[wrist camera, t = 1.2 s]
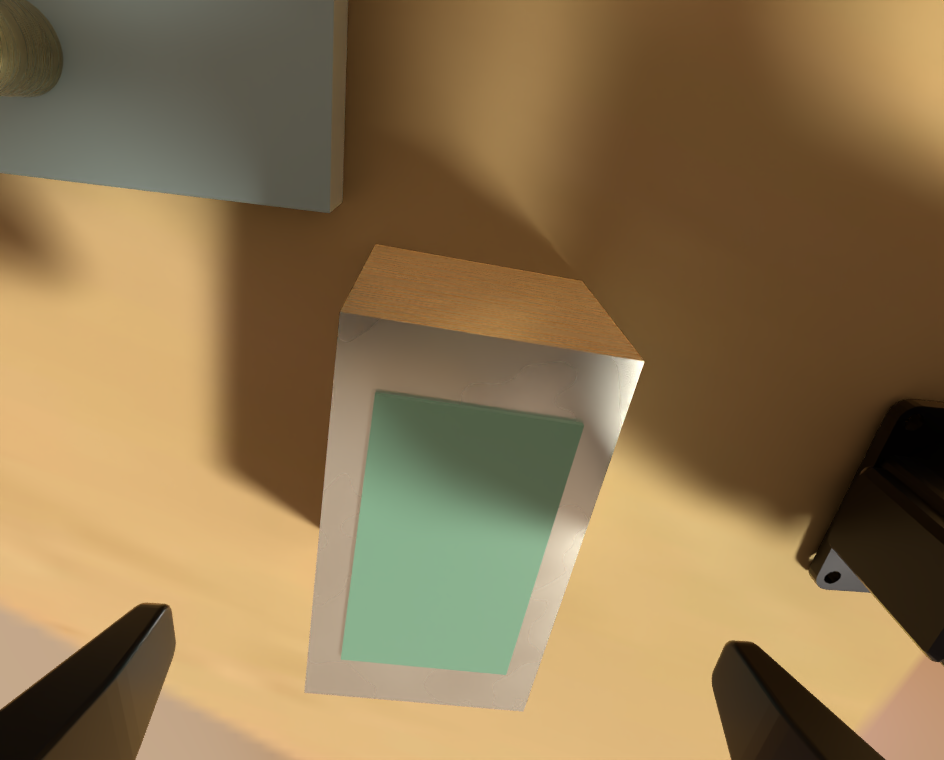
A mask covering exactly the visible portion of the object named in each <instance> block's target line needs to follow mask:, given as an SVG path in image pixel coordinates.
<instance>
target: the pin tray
mask: <svg viewBox="0 0 944 760" xmlns="http://www.w3.org/2000/svg"><path fill="white" fill-rule="evenodd" d="M347 29H348V0H0V173H5V174H13V175H21V176H30V177H38V178H46V179H54V180H62V181H71V182H79V183H87V184H95V185H103V186H111V187H120V188H128V189H136V190H144V191H152V192H161V193H169V194H177V195H185V196H193V197H202V198H210V199H218V200H226V201H234V202H242V203H251V204H259V205H267V206H275V207H283V208H292V209H300V210H308V211H316V212H324V213H331V212H332V211H333V210H334V209H335V208H336V207H338V206H339V205H340V204H341V203H342V202H343V170H344V135H345V100H346V65H347Z"/></svg>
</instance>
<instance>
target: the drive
mask: <svg viewBox="0 0 944 760" xmlns="http://www.w3.org/2000/svg"><path fill="white" fill-rule="evenodd" d="M644 362H645V361H644V360H643V359H642V357H641V356H640V355H639V354H638V352H637V351H636V350H635V348H634V347H633V346H632V345H631V343H630V342H629V341H628V339H627V338H626V337H625V335H624V334H623V333H622V332H621V330H620V329H619V328H618V326H617V325H616V324H615V323H614V321H613V320H612V319H611V317H610V316H609V315H608V314H607V312H606V311H605V310H604V308H603V307H602V306H601V304H600V303H599V302H598V301H597V299H596V298H595V297H594V295H593V294H592V293H591V292H590V290H589V289H588V288H587V286H586V285H585V284H584V283H583V281H581V280H575V279H569V278H564V277H558V276H552V275H547V274H541V273H536V272H530V271H524V270H519V269H513V268H508V267H502V266H496V265H491V264H485V263H479V262H474V261H468V260H463V259H457V258H451V257H446V256H440V255H435V254H429V253H423V252H418V251H412V250H406V249H401V248H395V247H390V246H384V245H378V244H375V246H374V248H373V250H372V252H371V254H370V256H369V257H368V259H367V261H366V263H365V265H364V267H363V269H362V271H361V273H360V275H359V276H358V278H357V280H356V282H355V284H354V286H353V288H352V290H351V292H350V294H349V295H348V297H347V299H346V301H345V303H344V305H343V307H342V309H341V311H340V316H339V326H338V337H337V348H336V359H335V369H334V380H333V391H332V402H331V412H330V423H329V434H328V445H327V456H326V466H325V477H324V488H323V499H322V509H321V520H320V531H319V542H318V553H317V563H316V574H315V585H314V596H313V606H312V617H311V628H310V639H309V649H308V660H307V671H306V682H305V693H314V694H326V695H338V696H349V697H361V698H373V699H384V700H396V701H408V702H419V703H431V704H443V705H454V706H466V707H478V708H489V709H501V710H513V711H524V708H525V705H526V702H527V699H528V697H529V694H530V691H531V688H532V685H533V682H534V679H535V676H536V673H537V671H538V668H539V665H540V662H541V659H542V656H543V653H544V650H545V648H546V645H547V642H548V639H549V636H550V633H551V630H552V627H553V624H554V622H555V619H556V616H557V613H558V610H559V607H560V604H561V601H562V598H563V596H564V593H565V590H566V587H567V584H568V581H569V578H570V575H571V572H572V570H573V567H574V564H575V561H576V558H577V555H578V552H579V549H580V547H581V544H582V541H583V538H584V535H585V532H586V529H587V526H588V523H589V521H590V518H591V515H592V512H593V509H594V506H595V503H596V500H597V497H598V495H599V492H600V489H601V486H602V483H603V480H604V477H605V474H606V471H607V469H608V466H609V463H610V460H611V457H612V454H613V451H614V448H615V446H616V443H617V440H618V437H619V434H620V431H621V428H622V425H623V422H624V420H625V417H626V414H627V411H628V408H629V405H630V402H631V399H632V396H633V394H634V391H635V388H636V385H637V382H638V379H639V376H640V373H641V370H642V368H643V365H644Z"/></svg>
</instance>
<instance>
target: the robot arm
mask: <svg viewBox="0 0 944 760" xmlns="http://www.w3.org/2000/svg"><path fill="white" fill-rule="evenodd" d="M911 416H912V417H911ZM909 417H911V418H910V420H908V421H907V422H905V421H906V420H907V419H908V418H909ZM809 574H810V576H811V578H812V579H813V580H814V582H815V583H816V584H817V585H818V586H819V587H820V588H822V589H826V590H840V591H855V592H869V593H872V595H873V596H874V597H875V598H876V599H877V600H878V601H879V603H880V604H881V605H882V606H883V607H884V608H885V609H886V611H887V612H888V613H889V614H890V615H891V616H892V618H893V619H894V620H895V621H896V622H897V623H898V624H899V626H900V627H901V628H902V629H903V630H904V631H905V632H906V634H907V635H908V636H909V637H910V638H911V639H912V640H913V642H914V643H915V644H916V645H917V646H918V647H919V648H920V650H921V651H922V652H923V653H924V654H925V655H926V657H928V658H929V659H930V660H932V661H935V662H940V663H941V664H942V665H943V666H944V402H936V401H926V400H917V399H906V400H902V401H900V402H897V403H896V404H895V405H893V406H892V407H891V408H890V409H889V411H888V412H887V414H886V416H885V418H884V420H883V422H882V424H881V426H880V428H879V430H878V432H877V434H876V436H875V438H874V440H873V442H872V444H871V446H870V448H869V450H868V452H867V454H866V456H865V458H864V460H863V462H862V464H861V466H860V468H859V470H858V472H857V474H856V476H855V478H854V480H853V482H852V484H851V486H850V488H849V490H848V492H847V494H846V496H845V498H844V500H843V502H842V504H841V506H840V508H839V510H838V512H837V514H836V516H835V518H834V520H833V522H832V524H831V525H830V527H829V529H828V531H827V533H826V535H825V537H824V539H823V541H822V543H821V545H820V547H819V549H818V551H817V553H816V555H815V557H814V559H813V561H812V563H811V565H810V568H809ZM175 645H176V640H175V632H174V625H173V617H172V611H171V608H170V606H169V605H167V604H159V603H142V604H139V605H137V606H136V607H134V608H133V609H132V610H130V611H129V612H128V613H127V614H125V615H124V616H123V617H121V618H120V619H119V620H117V621H116V622H115V623H113V624H112V625H111V626H109V627H108V628H107V629H106V630H104V631H103V632H102V633H100V634H99V635H98V636H96V637H95V638H94V639H92V640H91V641H90V642H88V643H87V644H86V645H85V646H83V647H82V648H81V649H79V650H78V651H77V652H75V653H74V654H73V655H71V656H70V657H69V658H68V659H66V660H65V661H64V662H62V663H61V664H60V665H58V666H57V667H56V668H54V669H53V670H52V671H50V672H49V673H48V674H46V675H45V676H44V677H43V678H41V679H40V680H39V681H37V682H36V683H35V684H33V685H32V686H31V687H29V689H27V690H26V691H24V692H23V693H22V694H20V695H19V696H18V697H16V698H15V699H14V700H12V701H11V702H10V703H8V704H7V705H6V706H4V707H3V708H2V709H1V710H0V760H135V759H136V756H137V754H138V751H139V749H140V746H141V743H142V741H143V738H144V735H145V733H146V730H147V727H148V724H149V722H150V719H151V716H152V713H153V711H154V708H155V705H156V702H157V700H158V697H159V694H160V691H161V689H162V686H163V683H164V681H165V678H166V675H167V672H168V670H169V667H170V664H171V661H172V659H173V655H174V651H175ZM712 687H713V692H714V696H715V699H716V703H717V707H718V711H719V715H720V719H721V722H722V726H723V730H724V734H725V738H726V741H727V745H728V749H729V753H730V757H731V760H885V759H884V758H883V757H882V756H881V755H880V754H879V753H877V752H876V751H875V750H874V749H873V748H872V747H871V746H870V745H868V744H867V743H866V742H865V741H864V740H863V739H862V738H861V737H860V736H858V735H857V734H856V733H855V732H854V731H853V730H852V729H851V728H849V727H848V726H847V725H846V724H845V723H844V722H843V721H842V720H841V719H839V718H838V717H837V716H836V715H835V714H834V713H833V712H832V711H830V710H829V709H828V708H827V707H826V706H825V705H824V704H823V703H821V702H820V701H819V700H818V699H817V698H816V697H815V696H814V695H813V694H811V693H810V692H809V691H808V690H807V689H806V688H805V687H804V686H802V685H801V684H800V683H799V682H798V681H797V680H796V679H795V678H793V677H792V676H791V675H790V674H789V673H788V672H787V671H786V670H785V669H783V668H782V667H781V666H780V665H779V664H778V663H777V662H776V661H774V660H773V659H772V658H771V657H770V656H769V655H768V654H767V653H765V652H764V651H763V650H762V649H761V648H760V647H759V646H757V645H756V644H754V643H752V642H748V641H733V640H732V641H729V642H727V643H726V644H725V646H724V648H723V650H722V653H721V655H720V657H719V659H718V661H717V664H716V666H715V668H714V670H713V674H712Z"/></svg>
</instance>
